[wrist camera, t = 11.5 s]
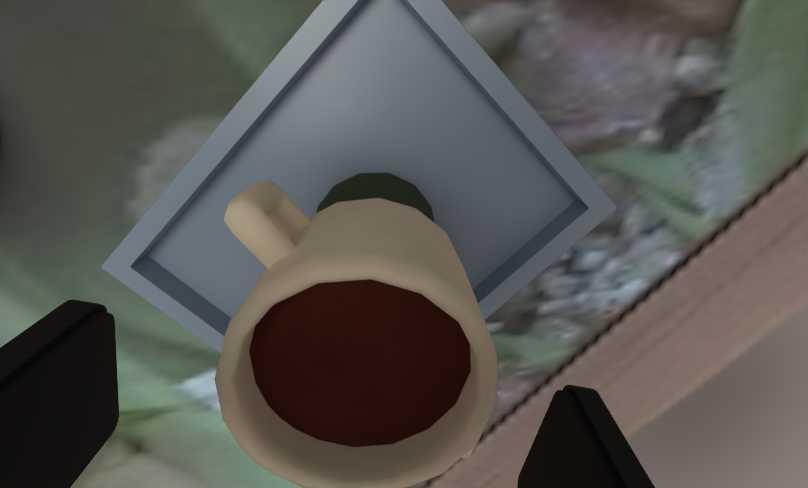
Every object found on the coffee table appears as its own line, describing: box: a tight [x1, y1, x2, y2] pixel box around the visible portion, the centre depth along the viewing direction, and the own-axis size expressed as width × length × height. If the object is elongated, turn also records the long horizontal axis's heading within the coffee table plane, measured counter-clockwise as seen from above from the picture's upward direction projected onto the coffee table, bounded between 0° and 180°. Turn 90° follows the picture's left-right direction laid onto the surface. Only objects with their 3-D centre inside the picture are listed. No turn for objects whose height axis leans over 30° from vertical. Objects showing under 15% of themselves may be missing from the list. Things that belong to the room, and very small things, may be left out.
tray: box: [101, 0, 617, 353], centre depth 22 cm, size 20×16×2 cm
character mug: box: [215, 173, 497, 488], centre depth 17 cm, size 11×7×13 cm, turn 38°
